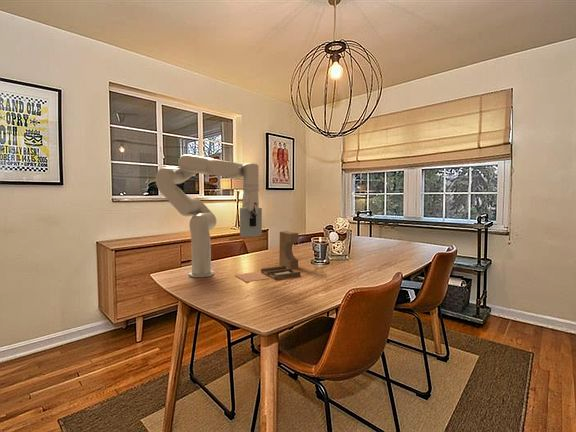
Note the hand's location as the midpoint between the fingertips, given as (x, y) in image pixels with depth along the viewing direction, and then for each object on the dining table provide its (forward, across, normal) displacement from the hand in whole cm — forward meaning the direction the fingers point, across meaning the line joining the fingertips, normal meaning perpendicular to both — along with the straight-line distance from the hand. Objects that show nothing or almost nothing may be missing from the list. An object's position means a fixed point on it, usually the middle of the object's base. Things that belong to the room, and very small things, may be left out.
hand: (250, 225), depth 158 cm
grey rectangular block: (+5, 0, 0) cm, 5 cm away
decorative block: (+26, -9, +28) cm, 40 cm away
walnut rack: (+26, +4, +15) cm, 30 cm away
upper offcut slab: (+26, +7, +15) cm, 31 cm away
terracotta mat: (+26, +1, 0) cm, 26 cm away
